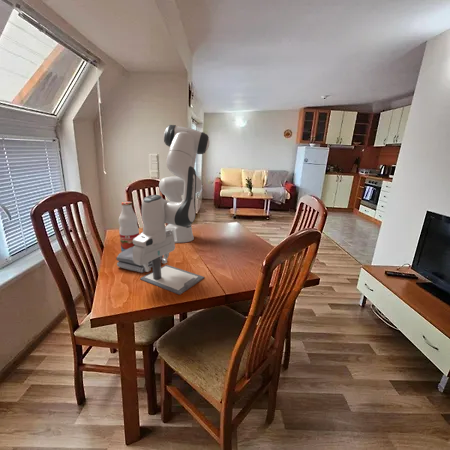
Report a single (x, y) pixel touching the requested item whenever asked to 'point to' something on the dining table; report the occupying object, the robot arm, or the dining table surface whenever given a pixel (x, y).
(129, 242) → the fruit juice
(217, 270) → the dining table surface
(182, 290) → the clipboard
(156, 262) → the marker
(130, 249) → the towel
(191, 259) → the dining table surface
